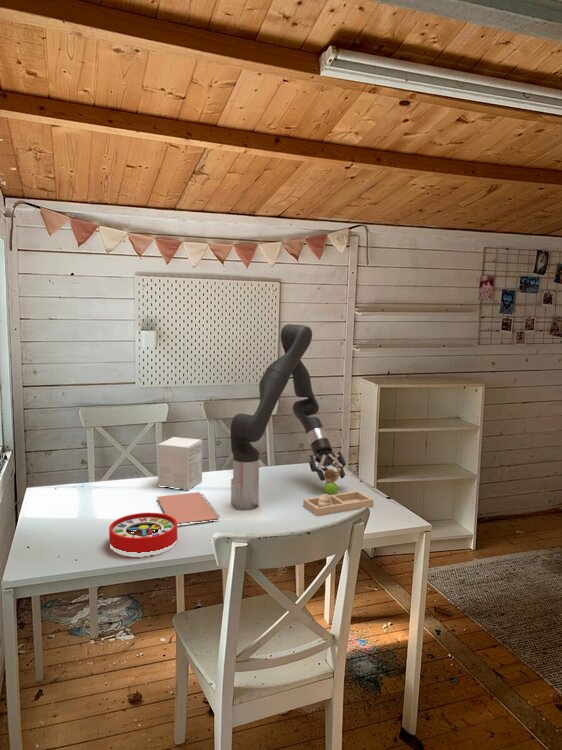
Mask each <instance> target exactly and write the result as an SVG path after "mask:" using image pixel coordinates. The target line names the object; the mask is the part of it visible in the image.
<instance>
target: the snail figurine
mask: <svg viewBox="0 0 562 750" xmlns="http://www.w3.org/2000/svg"><path fill="white" fill-rule="evenodd" d="M340 467H341V465H340ZM340 471H341V469H340V468H338V469H337V468H336V471H335V470H334V469H332V468H328V469H326V470H325V471H324V472H323V473H324V476H325V480H324V481H325V483H324V484H323V492H324V494H328V495H335V494H338V489H339V487H338V485H337V483H336V482H337V480H338V479H339V478H340Z"/></svg>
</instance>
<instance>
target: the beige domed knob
mask: <svg viewBox="0 0 562 750" xmlns="http://www.w3.org/2000/svg"><path fill="white" fill-rule="evenodd" d="M318 497H319V504H318V507H324V506H330V505H332V499H331V497H330V495H328V494H325V493H322V494H320V495H319V496H318Z"/></svg>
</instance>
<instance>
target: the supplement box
mask: <svg viewBox="0 0 562 750" xmlns="http://www.w3.org/2000/svg"><path fill="white" fill-rule="evenodd" d="M157 469H158V470H157V471H158V473H157V475H158V477H157V478H158V480H157V482H158V485H160V486H166V487H174V488H179V489H185V490H188V491H190V490H191V489H193V488H194V487H196V486H197V485H198V483H199V484H200V483H202V482H203V439H199V438H198V439H197V438H189V437H188V438H187V437H178V436H177V437H176V436H172V437H170V438H169V439H166V440H164V441H162V442H159V443H158V444H157ZM201 481H202V482H201ZM196 484H197V485H196ZM158 485H157V486H158ZM195 485H196V486H195ZM193 486H194V487H193ZM192 487H193V488H192ZM190 488H191V489H190ZM189 489H190V490H189Z"/></svg>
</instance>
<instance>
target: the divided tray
mask: <svg viewBox="0 0 562 750" xmlns="http://www.w3.org/2000/svg"><path fill="white" fill-rule="evenodd" d="M319 497H320V496H317V497H310V498H304V499H303V501H302V502H303V508H305V509H306V510H308V511H309V512H311V513H312V514H313V515H315V516H316V517H320V516H325V515H330V514H339V513H342V512H343V513H344V512H350V511H355V510H360V509H364V508H363V507H367V508H373V507H374V499H373V498H371V497H370V496H369V495H368V496H367V495H366V494H364V493H363V492H360V491H359V490H356V491H348V492H343V493H336V494H335V495H330V497H331V499H332V505H330V506H324V507H318V504H319Z"/></svg>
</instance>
